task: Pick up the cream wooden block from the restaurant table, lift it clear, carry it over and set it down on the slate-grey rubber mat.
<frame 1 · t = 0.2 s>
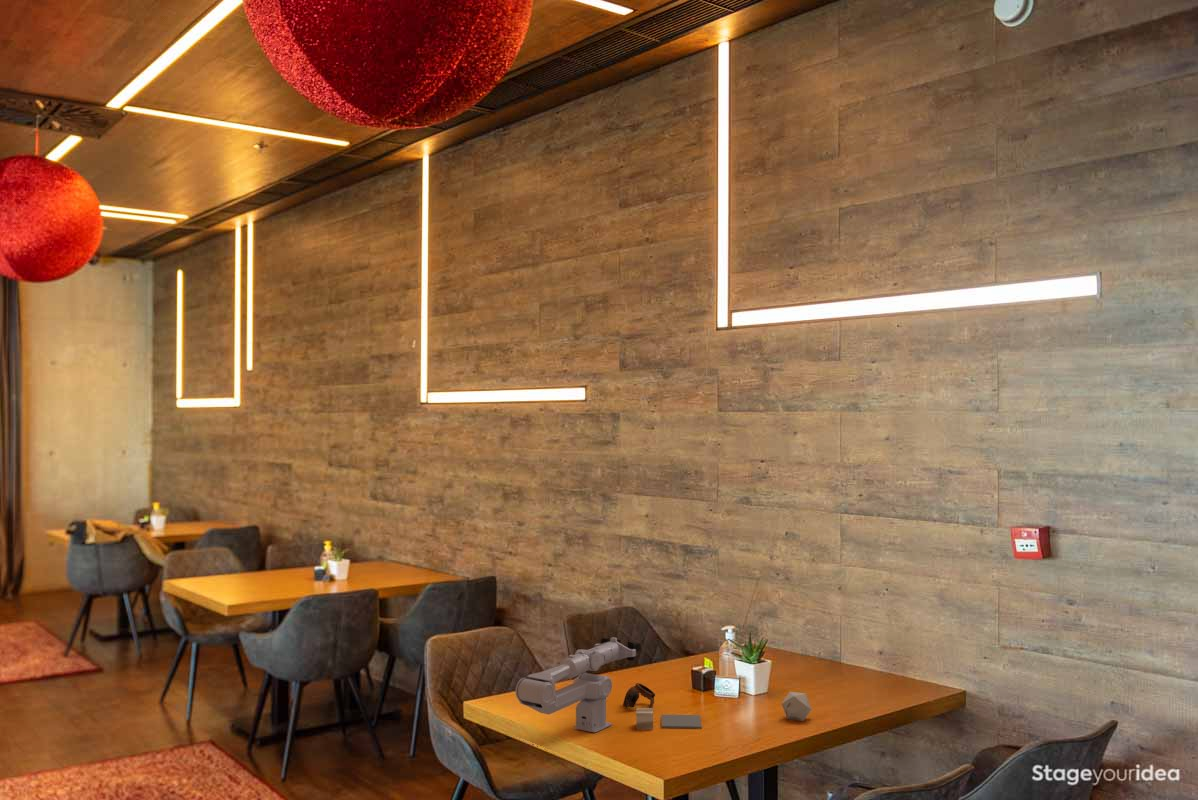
hand: (629, 644, 315), 21 cm above the table, tool horizontal, fingers open, 7 cm apart
slate mat: (681, 722, 303), on the table
cream block: (644, 727, 299), on the table
die: (796, 719, 307), on the table
dark brown looped arch: (637, 707, 320), on the table
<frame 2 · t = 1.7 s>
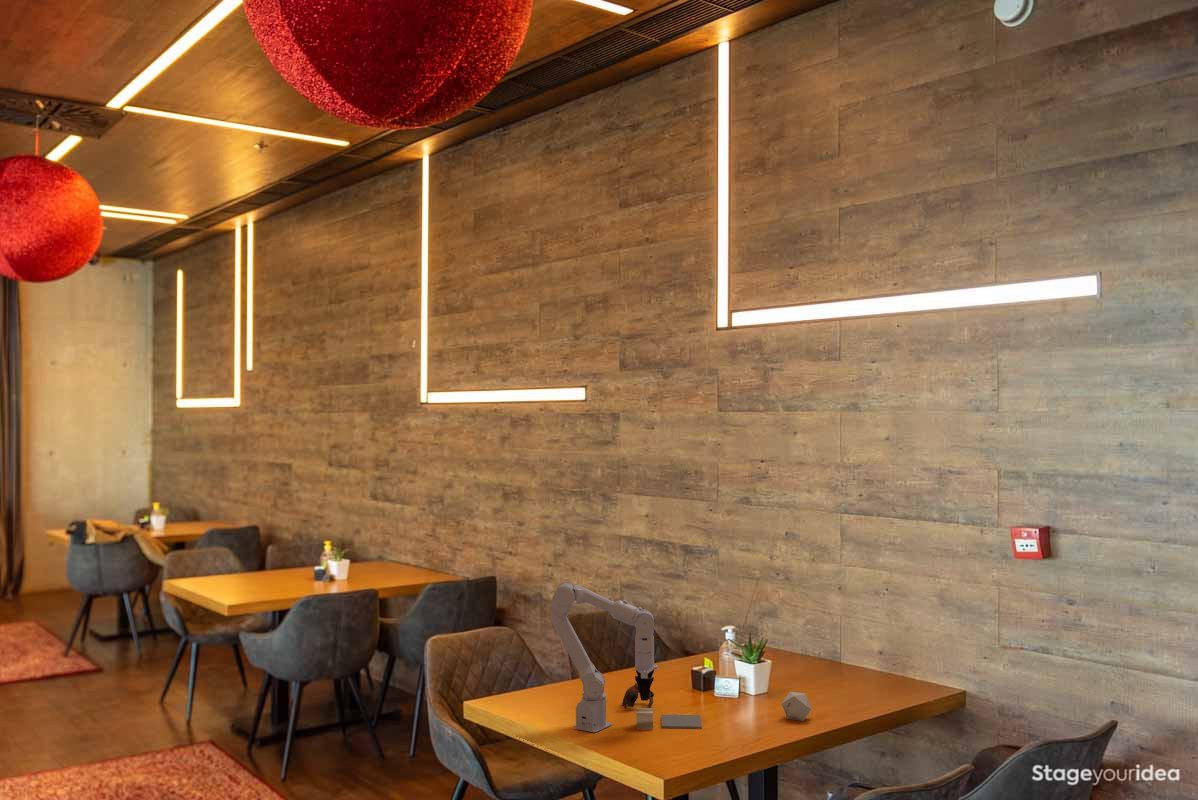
hand: (644, 696, 299), 9 cm above the table, tool pointing down, fingers open, 7 cm apart
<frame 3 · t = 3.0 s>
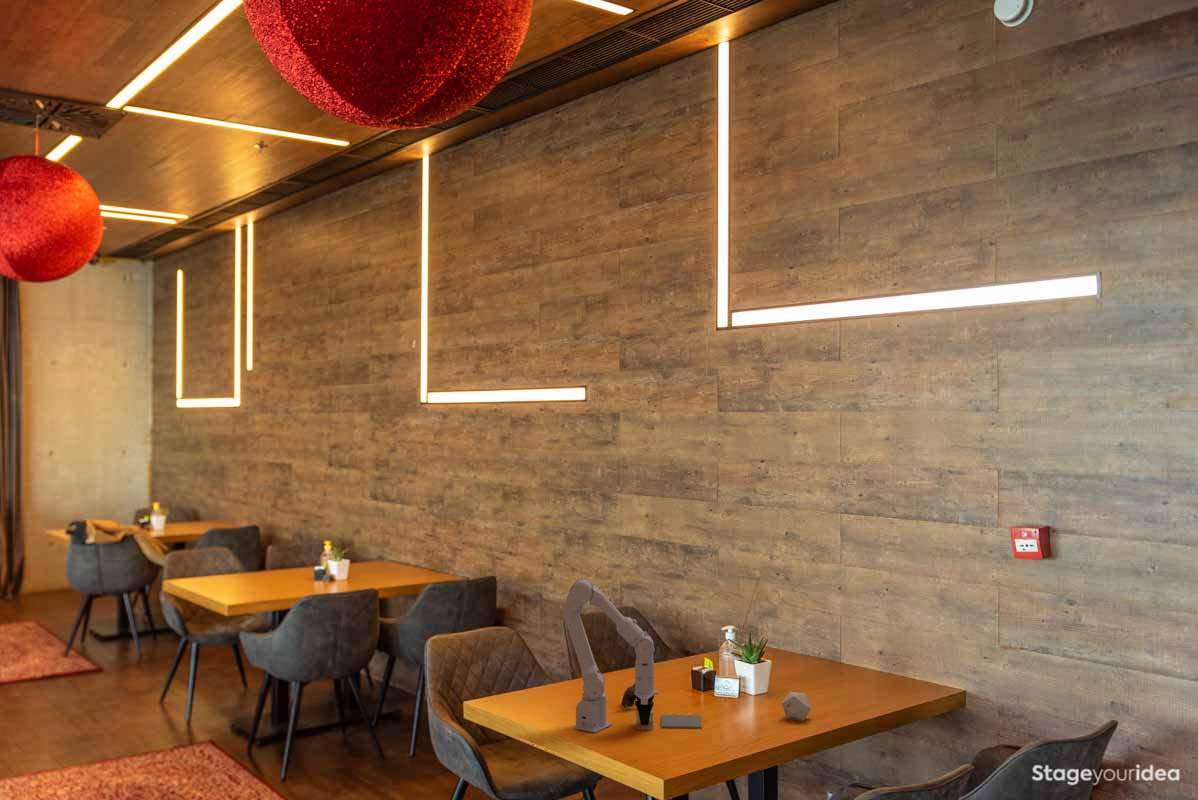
hand: (644, 722, 299), 1 cm above the table, tool pointing down, fingers closed on cream block, 5 cm apart
cream block: (644, 726, 299), on the table, touching gripper
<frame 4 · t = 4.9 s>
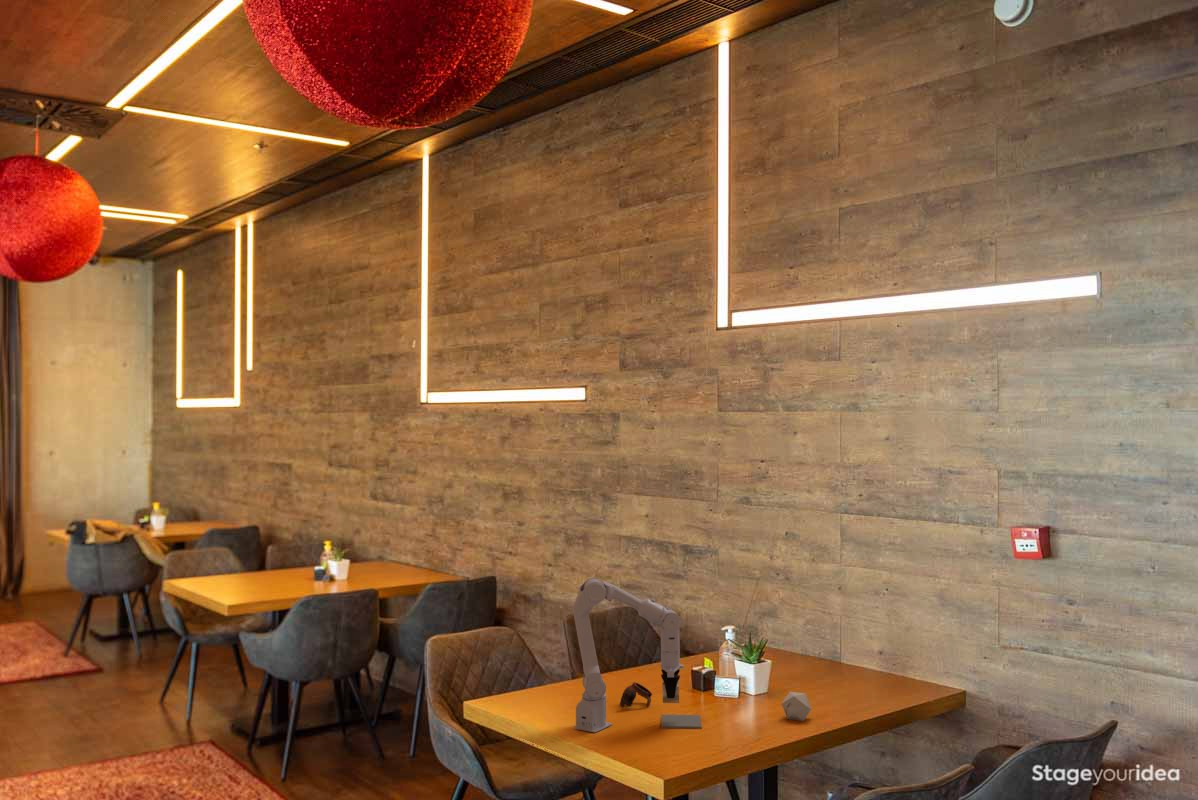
hand: (670, 695, 302), 9 cm above the table, tool pointing down, fingers closed on cream block, 5 cm apart
cream block: (670, 700, 302), point 7 cm above the table, touching gripper
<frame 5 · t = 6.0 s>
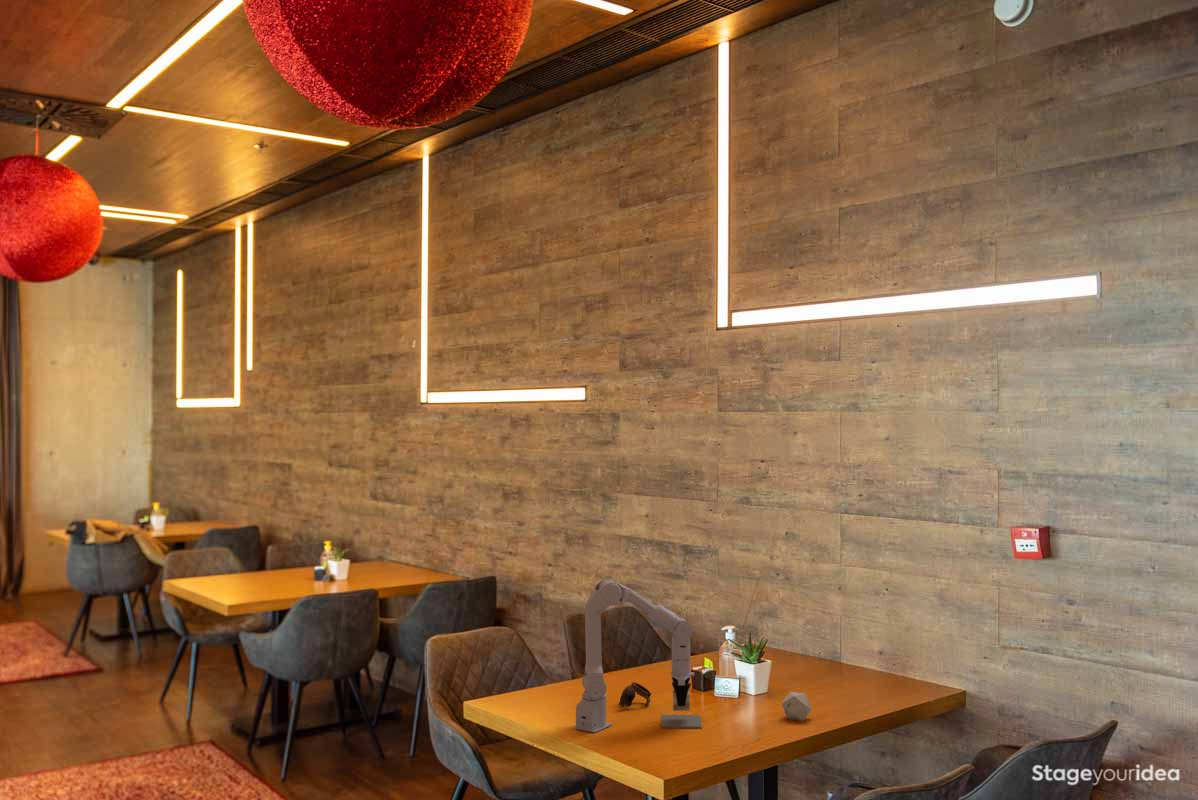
hand: (681, 703, 303), 6 cm above the table, tool pointing down, fingers closed on cream block, 5 cm apart
cream block: (681, 708, 303), point 4 cm above the table, touching gripper
when the fingers open (4 cm above the table, at t = 6.9 s): cream block drops 1 cm, resting on slate mat.
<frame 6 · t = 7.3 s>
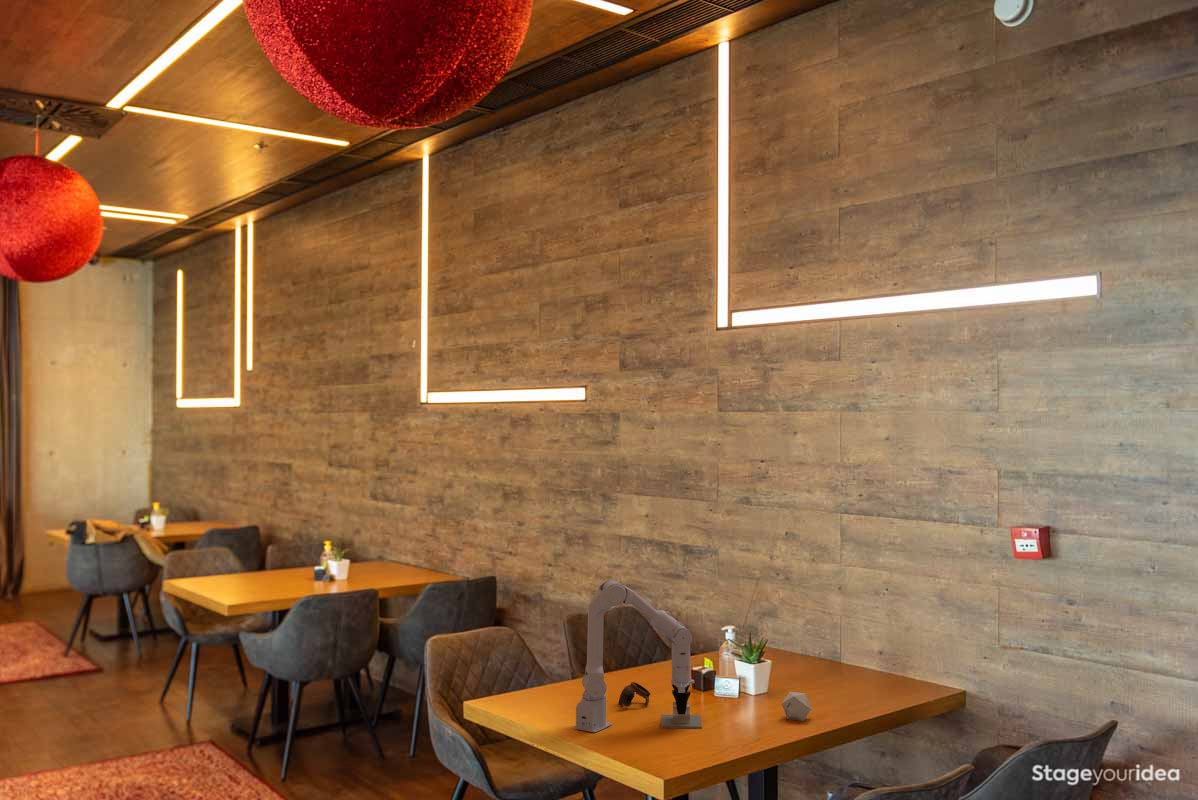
hand: (681, 710, 303), 4 cm above the table, tool pointing down, fingers open, 7 cm apart
cream block: (681, 720, 303), point 1 cm above the table, touching slate mat
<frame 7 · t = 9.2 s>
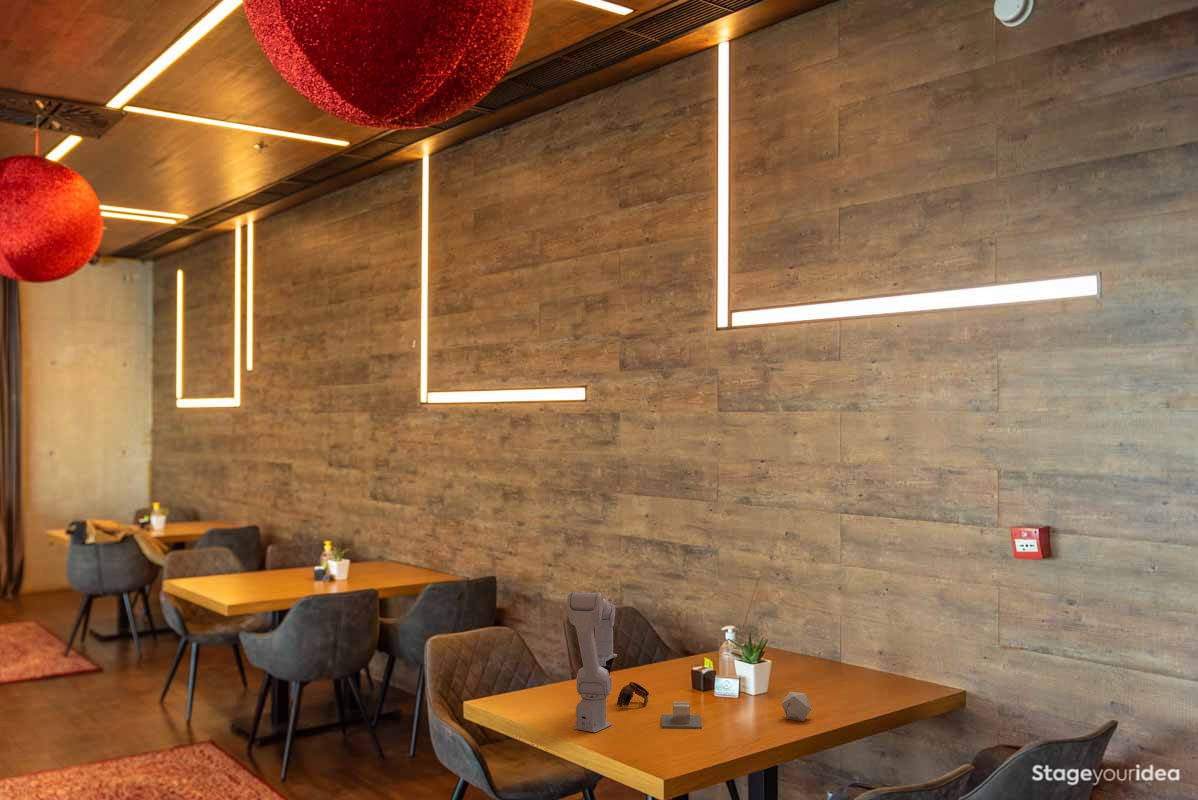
hand: (604, 683, 313), 9 cm above the table, tool pointing down, fingers open, 7 cm apart
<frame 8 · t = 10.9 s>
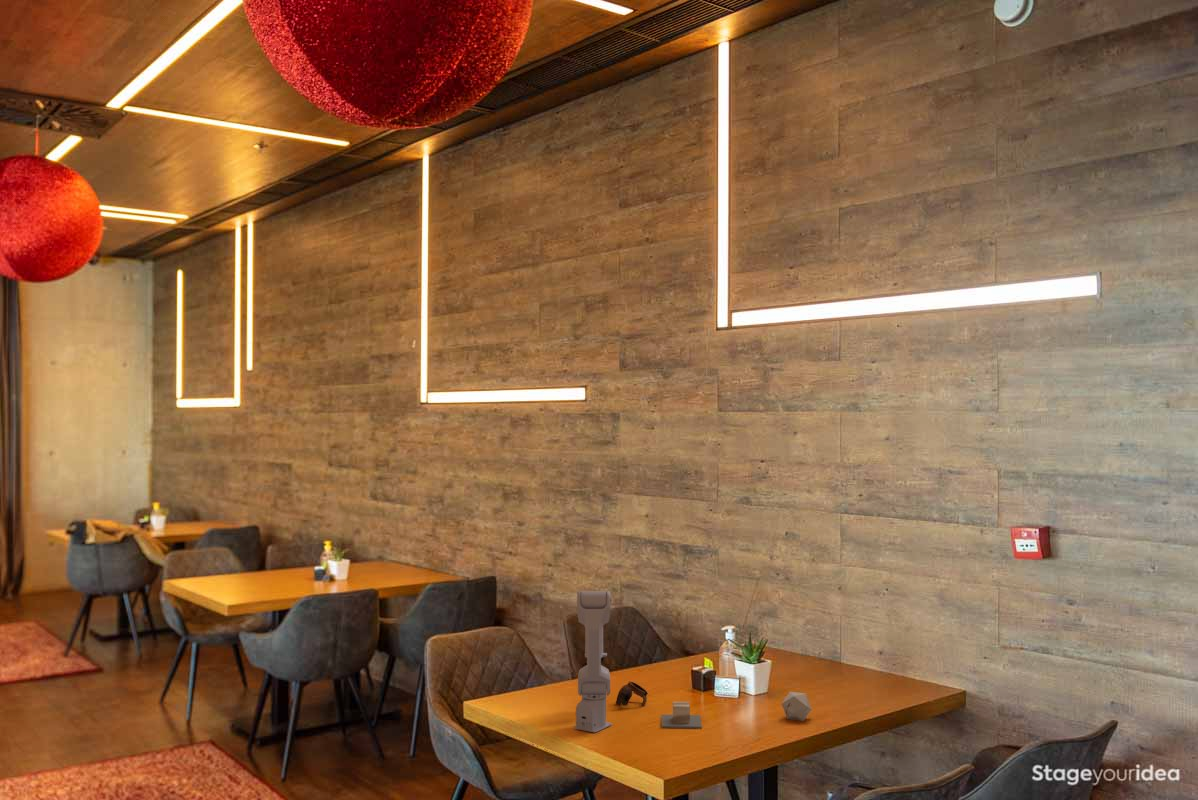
hand: (594, 682, 314), 9 cm above the table, tool pointing down, fingers open, 7 cm apart
at the end: cream block inside the target area on the slate mat (0.0 cm from its centre), point 0.6 cm above the slate mat's base; cream block tilted 0°; the gripper is holding nothing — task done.
